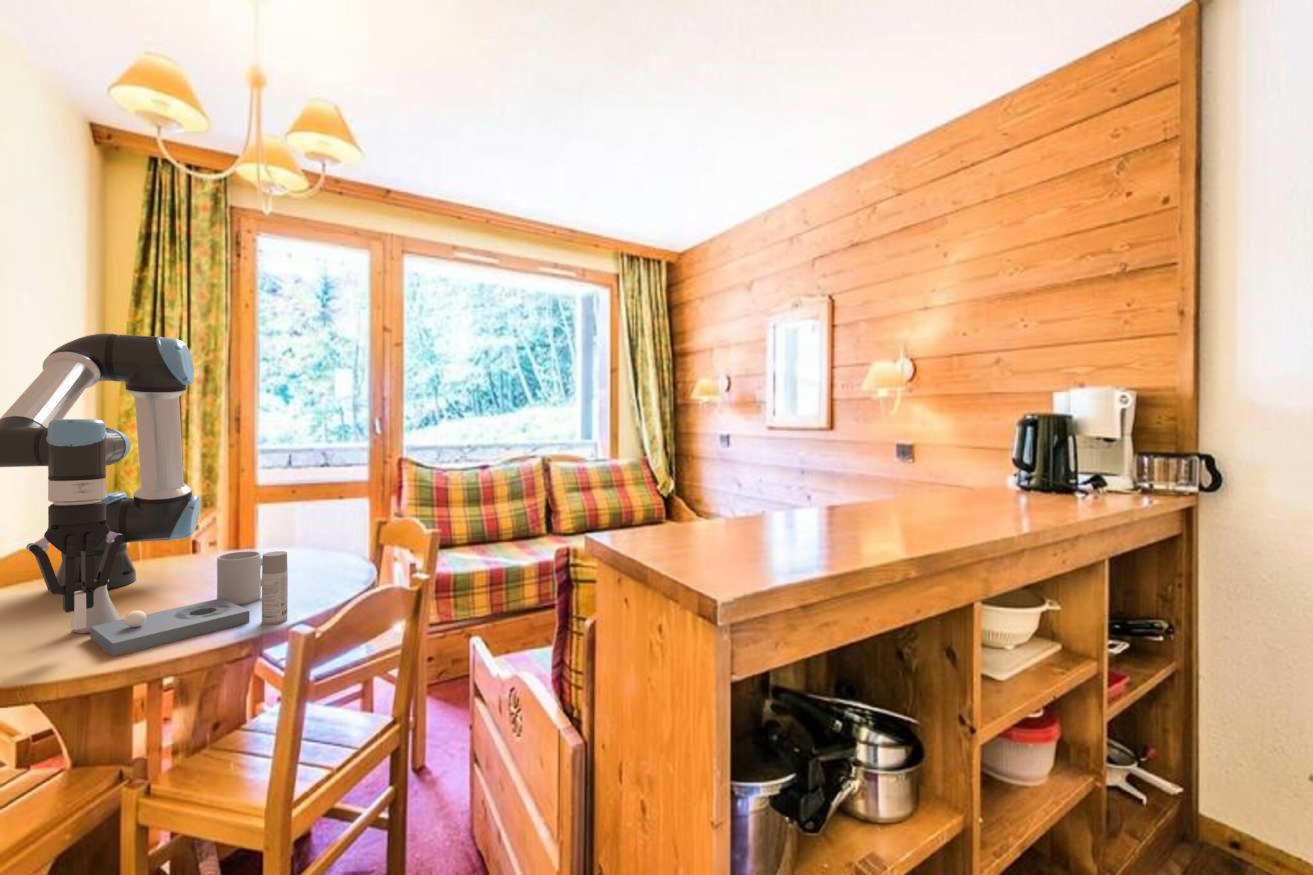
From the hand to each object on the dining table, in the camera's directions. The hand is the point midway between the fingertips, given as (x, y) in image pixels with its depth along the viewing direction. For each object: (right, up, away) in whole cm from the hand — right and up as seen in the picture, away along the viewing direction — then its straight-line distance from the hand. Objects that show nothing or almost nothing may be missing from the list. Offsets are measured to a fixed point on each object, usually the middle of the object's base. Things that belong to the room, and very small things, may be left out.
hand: (78, 627), depth 105 cm
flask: (-9, -5, +12) cm, 16 cm away
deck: (+7, -5, +12) cm, 15 cm away
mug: (+8, -4, +33) cm, 34 cm away
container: (+24, -5, +19) cm, 31 cm away
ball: (+4, -1, +7) cm, 8 cm away
